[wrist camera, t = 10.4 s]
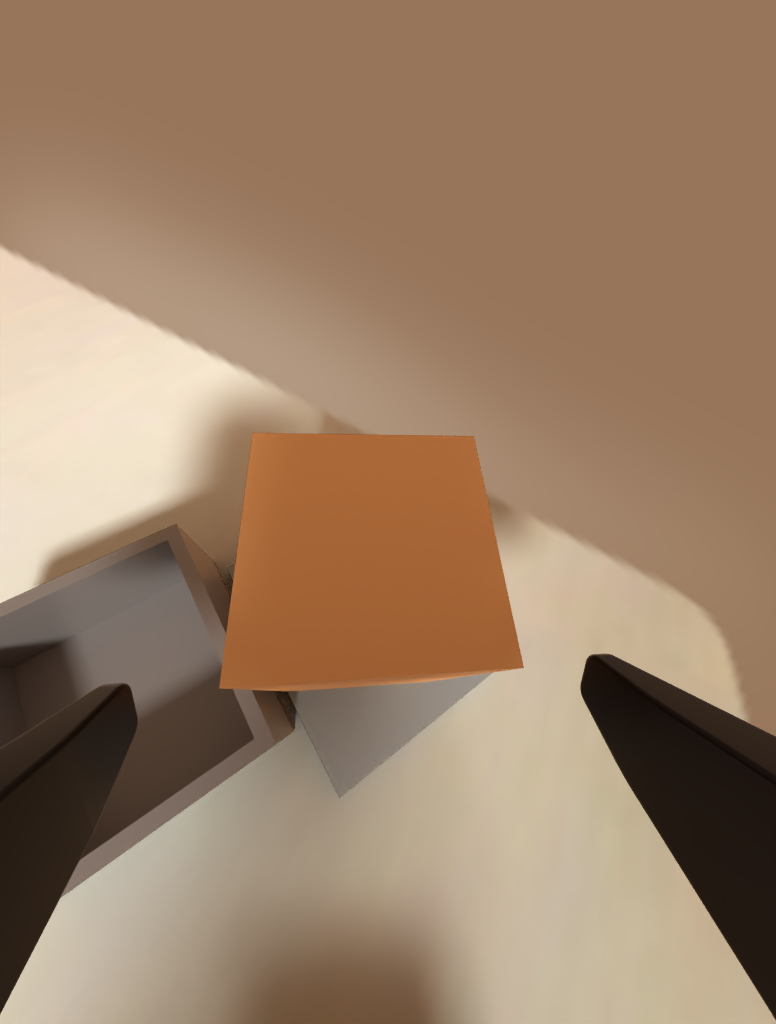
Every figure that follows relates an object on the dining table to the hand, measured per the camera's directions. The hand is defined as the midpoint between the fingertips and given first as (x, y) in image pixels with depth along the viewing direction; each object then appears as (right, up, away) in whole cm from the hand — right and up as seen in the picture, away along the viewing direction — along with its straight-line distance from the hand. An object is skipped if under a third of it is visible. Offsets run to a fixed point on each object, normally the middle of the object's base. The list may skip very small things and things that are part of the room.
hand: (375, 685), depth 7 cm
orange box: (-1, -2, +10) cm, 10 cm away
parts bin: (-10, -5, +8) cm, 14 cm away
